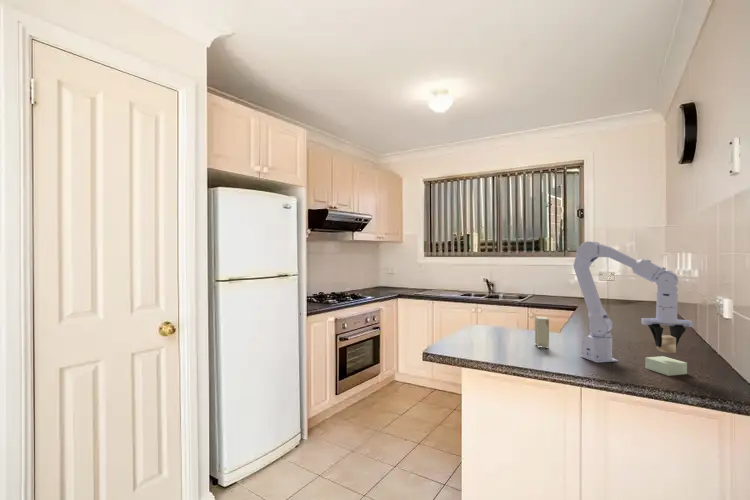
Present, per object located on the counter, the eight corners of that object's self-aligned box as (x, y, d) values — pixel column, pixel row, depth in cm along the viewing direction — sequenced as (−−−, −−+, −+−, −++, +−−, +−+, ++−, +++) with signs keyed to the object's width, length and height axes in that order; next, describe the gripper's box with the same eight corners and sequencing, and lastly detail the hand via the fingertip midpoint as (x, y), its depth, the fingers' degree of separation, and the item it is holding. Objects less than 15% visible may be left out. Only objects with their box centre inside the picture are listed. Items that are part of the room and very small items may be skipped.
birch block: (662, 352, 128) (662, 337, 128) (656, 349, 132) (656, 334, 132) (675, 352, 128) (676, 337, 128) (669, 349, 131) (669, 335, 131)
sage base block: (668, 376, 125) (668, 364, 125) (645, 368, 133) (645, 357, 133) (686, 374, 127) (687, 362, 127) (663, 367, 135) (663, 356, 135)
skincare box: (549, 349, 156) (549, 319, 156) (537, 348, 157) (538, 318, 157) (545, 345, 163) (546, 316, 162) (534, 344, 163) (535, 316, 163)
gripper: (684, 305, 132) (683, 345, 132) (637, 304, 135) (636, 342, 135) (696, 309, 125) (696, 350, 125) (647, 307, 128) (646, 347, 128)
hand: (666, 346), depth 130 cm, fingers closed on birch block, 4 cm apart
